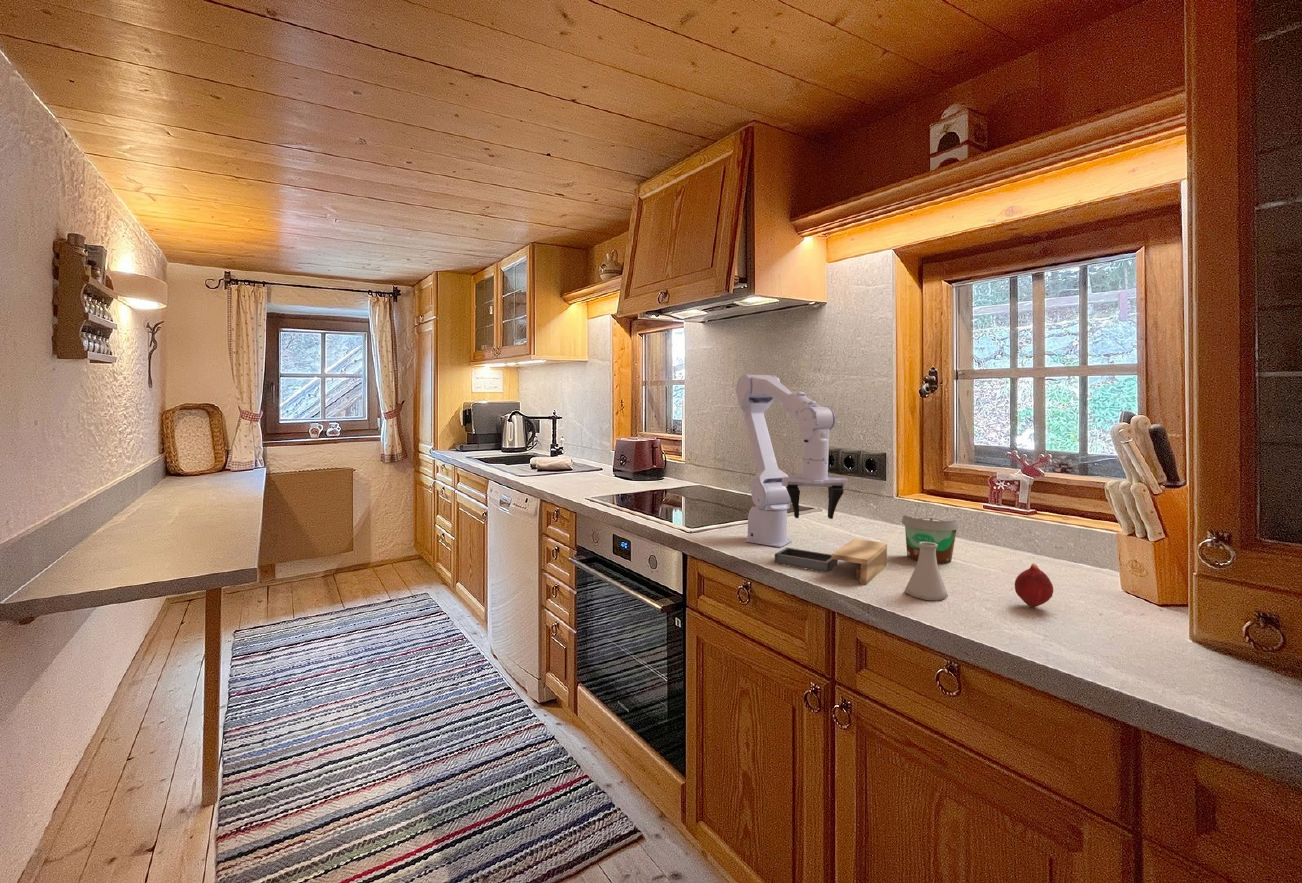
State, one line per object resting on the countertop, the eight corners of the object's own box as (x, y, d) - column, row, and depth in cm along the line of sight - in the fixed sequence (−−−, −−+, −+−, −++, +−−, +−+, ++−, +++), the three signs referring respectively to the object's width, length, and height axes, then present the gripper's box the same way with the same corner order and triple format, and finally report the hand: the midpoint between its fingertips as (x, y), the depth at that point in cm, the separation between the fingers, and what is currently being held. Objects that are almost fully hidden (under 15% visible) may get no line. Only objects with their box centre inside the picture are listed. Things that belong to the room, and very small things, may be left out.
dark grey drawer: (774, 564, 134) (774, 554, 134) (786, 557, 140) (786, 547, 140) (827, 574, 128) (827, 562, 127) (837, 566, 133) (837, 555, 133)
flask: (929, 604, 109) (932, 550, 108) (896, 592, 115) (899, 541, 114) (955, 598, 112) (958, 545, 111) (922, 586, 119) (924, 537, 118)
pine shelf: (830, 578, 124) (831, 554, 123) (853, 560, 137) (854, 538, 136) (866, 584, 120) (867, 559, 119) (886, 565, 133) (887, 543, 132)
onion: (1059, 611, 105) (1062, 567, 105) (1034, 614, 104) (1037, 569, 103) (1030, 600, 111) (1032, 558, 110) (1005, 603, 109) (1008, 560, 109)
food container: (897, 561, 137) (899, 518, 136) (900, 554, 142) (902, 513, 141) (958, 568, 131) (960, 523, 130) (958, 561, 136) (960, 518, 135)
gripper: (785, 460, 133) (784, 520, 134) (852, 461, 132) (850, 522, 133) (781, 457, 140) (779, 514, 141) (844, 458, 139) (842, 515, 140)
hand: (813, 517), depth 138 cm, fingers open, 7 cm apart
